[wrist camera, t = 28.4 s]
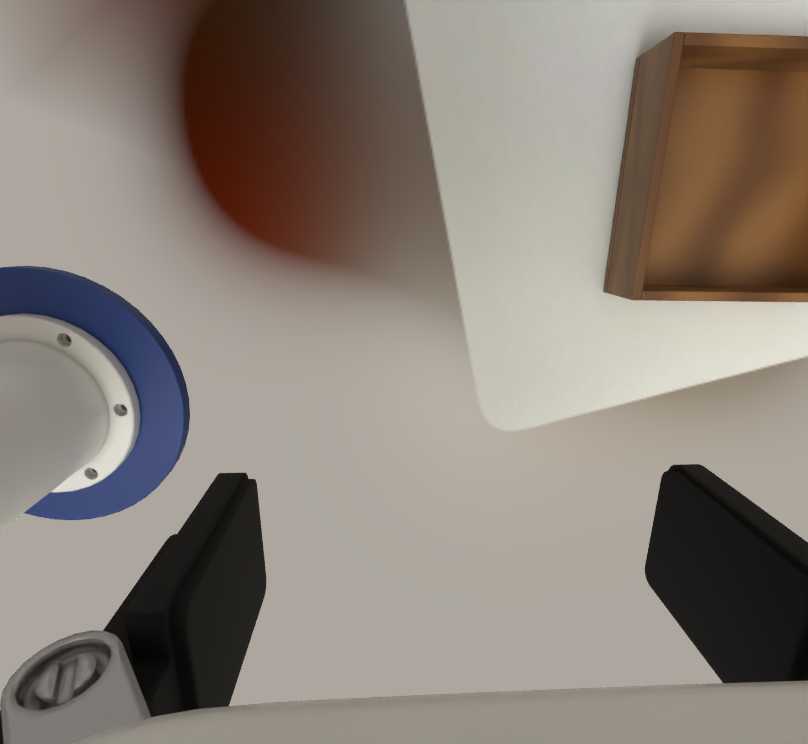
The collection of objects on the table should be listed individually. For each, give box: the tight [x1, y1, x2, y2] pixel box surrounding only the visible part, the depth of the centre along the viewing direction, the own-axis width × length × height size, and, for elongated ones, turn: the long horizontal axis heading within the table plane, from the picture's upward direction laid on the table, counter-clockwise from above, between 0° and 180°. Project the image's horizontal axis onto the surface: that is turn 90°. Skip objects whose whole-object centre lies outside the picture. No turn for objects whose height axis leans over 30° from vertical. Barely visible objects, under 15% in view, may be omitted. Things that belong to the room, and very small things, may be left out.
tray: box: [604, 32, 808, 302], centre depth 29 cm, size 15×14×4 cm
